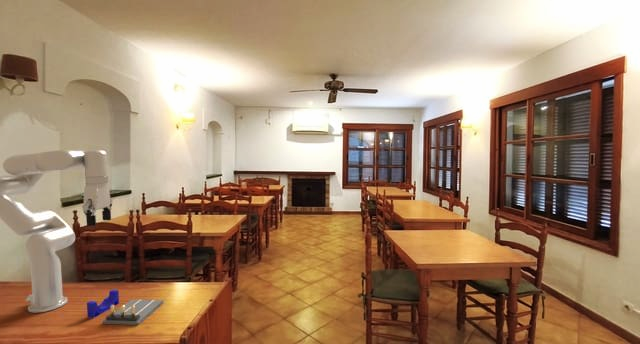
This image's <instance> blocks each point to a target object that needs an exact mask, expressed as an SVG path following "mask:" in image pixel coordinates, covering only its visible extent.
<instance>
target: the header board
mask: <svg viewBox="0 0 640 344" xmlns="http://www.w3.org/2000/svg"><path fill="white" fill-rule="evenodd" d="M163 304H164V300H161V299H159V300H157V299H130V300H129V301H128V302H126V303H125V304H123V305H124V309H125V315H131V306H133V305H134V306H135V315H140V319H138V320H137V321H121V320H106V317H105V318H104V319H103V320H102V324H103V325H104V324H105V325H106V324H107V325H128V326H129V325H133V326H140V324H141V323H142V322H144V321H145V320H146V319H147V318H148V317H149V316H151V314H153V313H154V312H155V311H156V310H157V309H159V307H161V306H162V305H163ZM114 311H115V314H119V315H121V307H119V308H117V309H116V310H114Z"/></svg>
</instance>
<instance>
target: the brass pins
mask: <svg viewBox="0 0 640 344" xmlns="http://www.w3.org/2000/svg"><path fill="white" fill-rule="evenodd" d="M124 305H125V304H122V305H120V308H121V315H119V314H115V311H116V310H115V306H114V305H111V306H110V307H111V308H110V314H108V315H107V316H105V318H106V320H121V321H137V320H138V319H140V315H135V306H134V305H133V306H131V315H125V309H124Z"/></svg>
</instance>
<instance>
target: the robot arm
mask: <svg viewBox="0 0 640 344" xmlns="http://www.w3.org/2000/svg"><path fill="white" fill-rule="evenodd" d="M2 168H3V170H4V172H6V173H7V174H8V175H0V220H1V221H2V222H3V223H4V224H5V225H7V226H8V228H10V230H12V231H13V232H14V233H15V234H17V235H18V236H20V237H28V236H29V237H28V238H27V239H26V242H25V249H26V250H25V251H26V253H27V257H28V258H29V265H30V266H29V267H30V276H31V278H30V279H31V293H32V294H29V295H28V296H27V297H26V299H25V302H30V305H29V306H28V308H27V310H28V312H30V313H33V314H34V313H35V314H37V313H44V312H50V311H53V310H55V309H58V308H60V307H62V306H64V305H66V304H67V303H68V297H67V296H64V295H63V279H62V278H63V277H62V264H61V259H60V257H59V256H58V255H57V254H56V252H57V251H60V250H62V249H65V248H68V247H69V246H71V245H73V244H74V242H75V241H76V234H75V233H76V232H74V230H73V229H72V227H71V226H70V225H69V224H68V223H66V221H65V220H64V219H62V218H61V217H60V216H59V214H58V213H56V212H55V211H54V210H53V211H52V210H51V209H39V210H38V209H37V210H30V209H28V208H27V207H26V206H25V205H24V204H23V203H21V202H20V201H19V200H17V199H14V198H11V197H9V196H15V195H22V194H26V193H29V192H30V191H31V190H33V188H34V187H35V186H36V185H37V184H38V183H39V181H40V180H41V179H42V177H43V176H44V175H45V174H48V173H51V172H52V171H54V172H55V171H64V170H79V169H80V170H81V169H84V178H85V185H84V190H83V204H82V206H81V209H82V211H83V213H84V216H85V217H86V226H87V227H90V226H91V227H93V226H96V225H97V216H96V215H95V214H96V211H97V210H98V211H99V210H102V211H101V212H102V213H101V214H102V216H101V217H102V221H111V220H112V212H111V211H112V206H113V201H114V200H113V198H111V194H110V187H109V174H108V173H109V172H108V154H107V152H106V151H105V150H102V149H101V150H99V149H96V150H93V149H92V150H86V149H63V150H61V149H60V150H50V151H49V150H48V151H42V152H35V153H24V154H16V155H12V156H9V157H7V158H6V159H5V160H4V161H3V163H2ZM9 174H10V175H9Z"/></svg>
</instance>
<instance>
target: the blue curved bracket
mask: <svg viewBox="0 0 640 344" xmlns="http://www.w3.org/2000/svg"><path fill="white" fill-rule="evenodd" d="M108 293H109V294H108V296H107V297H105V298H104V299H103V301H102V302H101V303H100V304H99V305H98V301H95V300H94V301H92V300H89V301H88V302H86V310H87V311H86V312H87V315H86V316H87V318H89V319H90V318H91V319H95V318H96V317H98V316H99V315H100V316H101V315H102V314H103V313H105V312H107V311H109V310H111V307H110V306H111V305H114V307H115V306H117V305H118V304H120V298H119V297H120V296H119V295H120V293H119V289H111V290H109V292H108Z"/></svg>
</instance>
